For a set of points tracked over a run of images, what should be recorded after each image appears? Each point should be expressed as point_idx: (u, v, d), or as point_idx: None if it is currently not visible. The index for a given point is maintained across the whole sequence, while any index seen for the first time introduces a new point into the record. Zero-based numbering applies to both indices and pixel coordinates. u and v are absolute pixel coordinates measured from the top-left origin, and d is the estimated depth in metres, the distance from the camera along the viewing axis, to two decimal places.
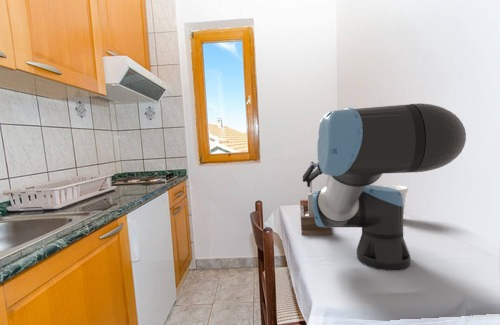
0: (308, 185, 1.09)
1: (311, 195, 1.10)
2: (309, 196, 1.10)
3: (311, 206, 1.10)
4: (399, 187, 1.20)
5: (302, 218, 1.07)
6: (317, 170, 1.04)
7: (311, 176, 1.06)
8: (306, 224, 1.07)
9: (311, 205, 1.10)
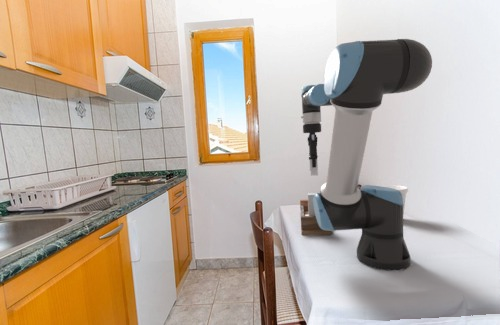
0: (315, 164, 1.02)
1: (311, 195, 1.09)
2: (309, 196, 1.09)
3: (311, 207, 1.09)
4: (399, 187, 1.20)
5: (302, 218, 1.07)
6: None
7: None
8: (306, 224, 1.07)
9: (311, 205, 1.09)
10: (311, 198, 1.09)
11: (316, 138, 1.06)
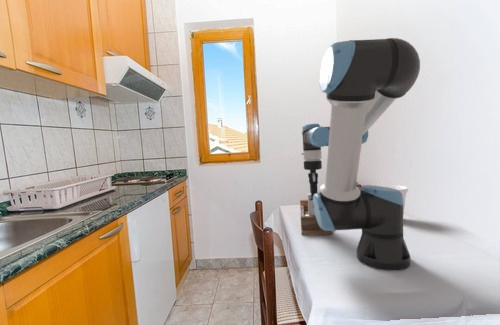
0: None
1: None
2: (309, 196, 1.09)
3: None
4: (399, 187, 1.20)
5: (302, 218, 1.07)
6: None
7: None
8: (306, 224, 1.07)
9: None
10: None
11: (317, 176, 1.08)
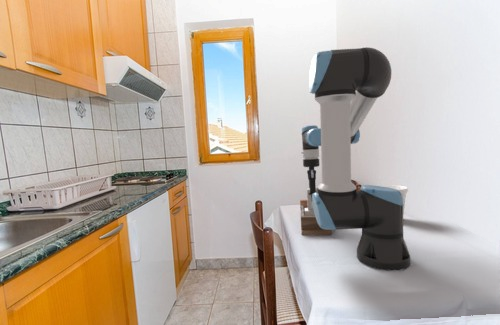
0: None
1: None
2: (308, 191, 1.21)
3: None
4: (399, 187, 1.20)
5: (302, 218, 1.07)
6: None
7: None
8: (306, 224, 1.07)
9: None
10: None
11: (315, 172, 1.20)
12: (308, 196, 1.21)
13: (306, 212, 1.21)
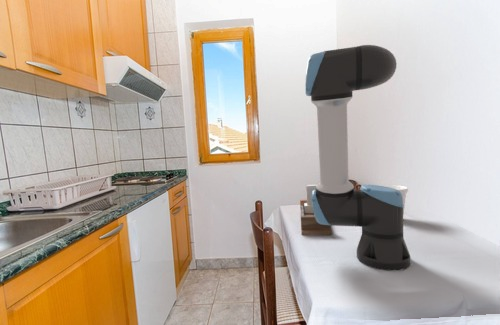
0: None
1: (309, 186, 1.31)
2: (307, 187, 1.31)
3: (309, 196, 1.31)
4: (399, 187, 1.20)
5: (302, 218, 1.07)
6: None
7: None
8: (306, 224, 1.07)
9: (309, 195, 1.31)
10: (309, 189, 1.31)
11: None
12: (307, 192, 1.31)
13: (305, 207, 1.31)
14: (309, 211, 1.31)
